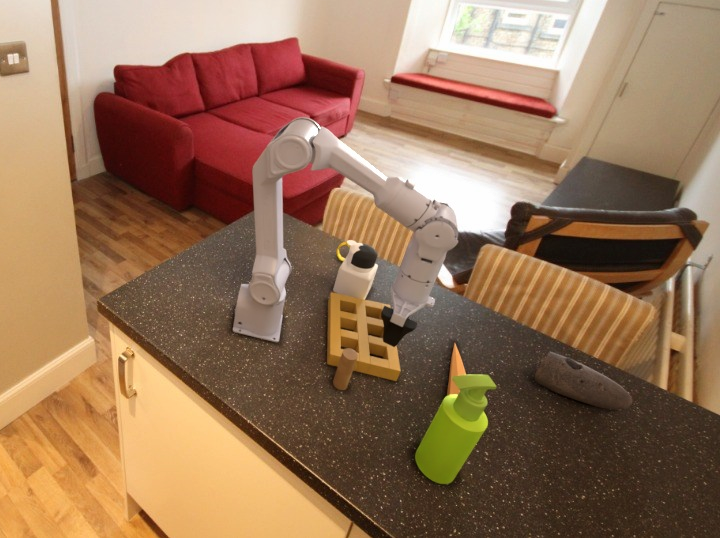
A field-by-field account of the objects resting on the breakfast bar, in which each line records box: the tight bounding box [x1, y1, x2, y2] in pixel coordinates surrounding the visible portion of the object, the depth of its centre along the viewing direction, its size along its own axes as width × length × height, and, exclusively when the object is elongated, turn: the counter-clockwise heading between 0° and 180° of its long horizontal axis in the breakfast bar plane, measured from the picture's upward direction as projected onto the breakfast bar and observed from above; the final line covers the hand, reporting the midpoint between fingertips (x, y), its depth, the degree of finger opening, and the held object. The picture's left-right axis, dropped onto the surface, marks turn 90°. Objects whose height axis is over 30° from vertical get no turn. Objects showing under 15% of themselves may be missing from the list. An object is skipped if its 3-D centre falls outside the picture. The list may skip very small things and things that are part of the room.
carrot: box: [446, 342, 467, 396], centre depth 84 cm, size 20×4×4 cm, turn 155°
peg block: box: [326, 291, 401, 382], centre depth 91 cm, size 13×18×3 cm
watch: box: [335, 239, 358, 262], centre depth 113 cm, size 6×3×6 cm, turn 59°
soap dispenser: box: [414, 373, 498, 485], centre depth 65 cm, size 6×7×20 cm
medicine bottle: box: [332, 242, 379, 300], centre depth 102 cm, size 7×7×12 cm
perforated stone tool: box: [534, 351, 634, 411], centre depth 82 cm, size 15×5×7 cm, turn 59°
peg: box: [332, 347, 358, 391], centre depth 80 cm, size 3×3×8 cm
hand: (394, 330), depth 81 cm, fingers open, 7 cm apart
